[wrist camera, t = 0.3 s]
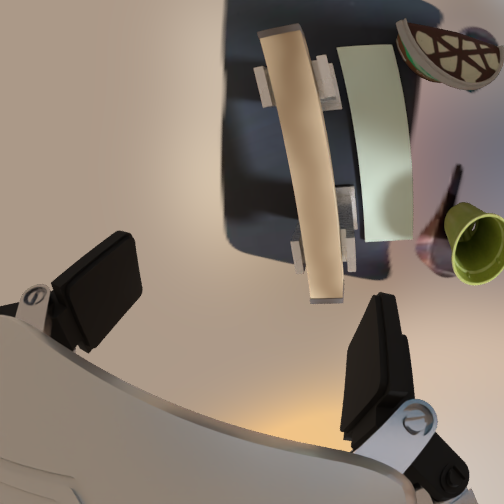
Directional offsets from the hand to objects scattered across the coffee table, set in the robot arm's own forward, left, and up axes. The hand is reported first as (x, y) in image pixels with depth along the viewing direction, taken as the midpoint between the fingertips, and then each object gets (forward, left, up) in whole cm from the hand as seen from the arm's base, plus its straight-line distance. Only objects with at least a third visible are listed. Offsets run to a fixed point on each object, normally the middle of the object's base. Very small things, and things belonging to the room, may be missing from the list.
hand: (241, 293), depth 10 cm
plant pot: (-21, +11, -29) cm, 37 cm away
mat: (-9, 0, -28) cm, 30 cm away
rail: (-1, 0, -18) cm, 18 cm away
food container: (-18, -10, -29) cm, 35 cm away
